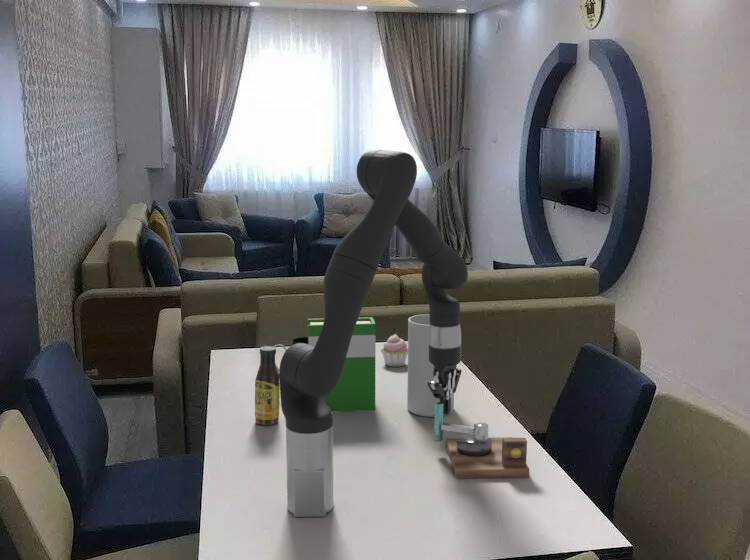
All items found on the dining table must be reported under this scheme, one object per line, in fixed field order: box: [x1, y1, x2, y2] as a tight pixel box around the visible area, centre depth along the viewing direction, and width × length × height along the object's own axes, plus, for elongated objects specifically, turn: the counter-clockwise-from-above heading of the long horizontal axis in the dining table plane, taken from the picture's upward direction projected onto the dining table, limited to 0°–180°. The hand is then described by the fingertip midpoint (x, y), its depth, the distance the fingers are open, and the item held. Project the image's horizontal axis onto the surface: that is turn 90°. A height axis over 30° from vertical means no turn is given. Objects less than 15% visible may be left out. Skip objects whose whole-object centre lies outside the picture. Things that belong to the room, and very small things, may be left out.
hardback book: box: [307, 316, 377, 413], centre depth 215 cm, size 18×7×24 cm, turn 96°
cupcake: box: [380, 333, 408, 368], centre depth 255 cm, size 9×9×10 cm
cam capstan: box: [433, 402, 492, 456], centre depth 183 cm, size 14×8×10 cm, turn 71°
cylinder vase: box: [406, 313, 455, 418], centre depth 213 cm, size 12×12×25 cm
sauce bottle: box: [254, 345, 280, 426], centre depth 204 cm, size 7×6×20 cm
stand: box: [445, 436, 530, 480], centre depth 181 cm, size 18×16×8 cm
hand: (445, 412), depth 188 cm, fingers closed
